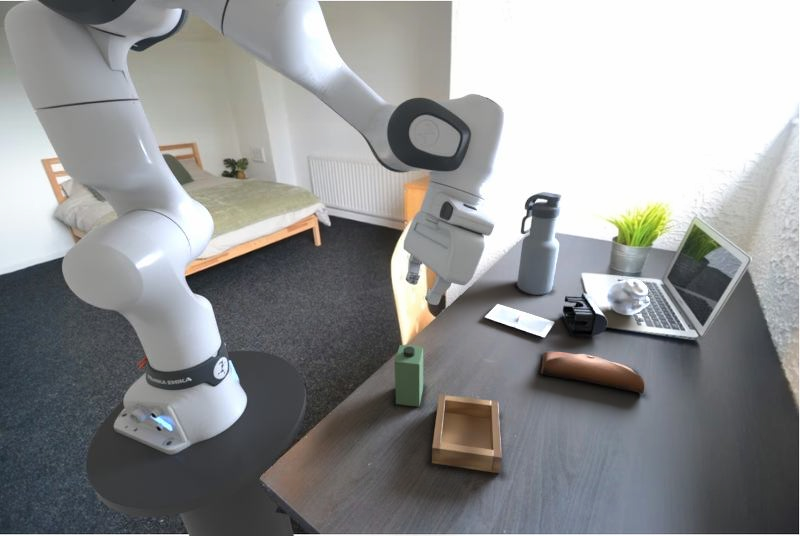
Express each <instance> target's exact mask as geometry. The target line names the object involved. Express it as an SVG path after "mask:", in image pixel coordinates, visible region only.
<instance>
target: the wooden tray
mask: <svg viewBox="0 0 800 536" xmlns="http://www.w3.org/2000/svg"><path fill="white" fill-rule="evenodd" d="M433 431H434V432H433V439H432V446H431V464H435V465H442V466H449V467H456V468H463V469H469V470H476V471H482V472H488V473H494V474H500V473H501V466H502V458H503V456H502V455H503V454H502V441H501V425H500V409H499V401H498V400H488V399H481V398H472V397H463V396H455V395H448V394H447V395H446V394H441V393H440V394H438V400H437V407H436V417H435V423H434V430H433Z"/></svg>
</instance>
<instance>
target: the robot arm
mask: <svg viewBox="0 0 800 536" xmlns="http://www.w3.org/2000/svg"><path fill="white" fill-rule="evenodd" d="M190 13H192V14H194V15H195V16H197V17H199V19H201V20H203V21H204V22H205V23H206V24H208V25H209V26H211V27H212V28H213V29H215V30H216V31H217V32H218V33H220V34H221V35H222V36H223V37H224V38H226V40H228V41H230V42H231V43H232V44H233V45H235V46H236V47H238V48H239V49H240V50H242V51H243V52H244V53H246V54H248V55H249V56H251V57H252V58H253V59H255V60H257V61H258V62H260V63H261V64H263V65H264V66H266V67H268V68H270V69H271V70H273V71H275V72H276V73H278V74H280V75H281V76H282V77H283V76H284V77H285V78H287V79H288V80H290V81H291V82H293V83H295V84H296V85H298V86H300V87H301V88H303V89H305V90H306V91H308V92H309V93H311V94H312V95H314V96H315V97H316V98H318V99H319V100H320V101H321V102H323V103H324V104H325V105H326V106H327V107H328V108H330V109H331V110H332V111H333V112H334V113H336V114H337V115H338V116H339V117H340V118H342V120H344V121H345V122H346V123H347V124H349V125H350V126H351V127H353V128H354V129H355V131H357V132H358V133H359V134H360V135H361V136H362V137H363V139H364V140H365V142H366V143H367V145H368V147H369V149H370V151H371V153H372V155H373V156H374V158H375V159H376V161H377V162H378V163H379V164H380V165H381V166H382V167H384V169H386V170H388V171H391V172H393V173H398V174H399V173H400V174H403V173H409V172H421V171H422V172H426V173H428V174H429V175H430V179H429V182H428V185H427V188H426V191H425V193H424V196H423V198H422V202H421V204H420V208H419V211H417V212H416V214H415V215H414V216H413V218H412V221H411V223H410V225H409V228H408V231H407V232H406V235H405V237H404V240H403V250H404V251H406V252H407V253H408V254H409V258H408V265H407V266H408V267H407V273H406V276H405V281H406V282H407V283H408V284H410V285H414V286H416V285H418V283H419V280H420V277H421V275H420V270H421V265H422V266H423V265H424V266H426V267H427V268H428V269H429V270H431V271H432V272H433V273H435V277H434V280H433V281H434V283H433V285H432V286H431V288H430V289H429V288H428V289H427V291H426V294H425V296H424V299H425V301H426V302H427V303H428V304H429V305H434V306H438V305H439V304H440V302H441V299H442V297H443V295H444V294H445V293H446V292H447V291H448V290H449V289H450V288H451V287H452V284H454V285H460V286H463V287H464V286H466V285H468V284H469V282H471V280H472V279H473V278H474V275H475V273H476V271H477V269H478V266H479V264H480V262H481V259H482V256H483V254H484V251H485V248H486V237H489V236H491V235H492V233H493V230H494V229H495V221H494V220H493V218H492V217H491V216H490V215H489V214H488V212H487V211H486V210H485V208H484V207H483V205H484V203H485V200H486V196H487V188H488V185H489V183H490V180H491V179H492V178H493V177H494V175H495V174H496V171H497V168H498V166H499V163H500V160H501V157H502V154H503V151H504V147H505V144H506V141H507V137H508V133H509V117H508V115H507V113H506V112H505V110H504V109H503V107H502V106H500V105H499V104H498V103H497V102H495V101H494V100H493V99H490V98H489V97H486V96H483V95H480V94H475V93H470V94H466V95H464V96H462V97H457V98H451V99H434V98H433V99H432V98H426V97H413V98H412V97H411V98H409V99H406V100H405V101H402V102H401V103H399V104H398V105H393V104H392V103H389V102H388V101H386V100H384V99H383V98H382V97H381V96H380V95H379V94H378V93H377V92H375V91H374V89H372V88H371V87H370V86H369V85H368V84H367V83H366V82H365V81H364V80H363V79H362V78H361V77H360V76H358V75H357V74H356V73H355V72H354V71H353V70H352V69H351V68H350V67H349V66H348V65H347V64H346V63H345V61H344V60H343V58H342V57H341V56H340V55H339V52H338V50H337V49H336V46H335V45H334V42H333V40H332V37H331V34H330V32H329V28H328V26H327V24H326V23H327V22H326V20H325V17H324V13H323V11H322V7H321V5H320V3H319V1H318V0H25V1H23V2H19V3H18V4H15V5H14V6H12V7H11V8H10V9H9V10H8V12H6V14H5V16H4V24H3V26H4V32H5V37H6V39H7V44H8V47H9V51H10V55H11V57H12V61H13V63H14V66H15V68H16V69H15V70H16V72H17V75H18V77H19V79H20V82H21V85H22V87H23V89H24V92H25V94H26V96H27V98H28V100H29V102H30V104H31V107H32V109H33V110H34V112H35V115H36V117H37V119H38V121H39V123H40V125H41V126H42V129H43V131H44V132H45V135H46V137H47V138H48V141H49V142H50V144H51V147H52V148H53V150H54V153H55V155H56V156H57V158H58V160H59V162H60V164H61V166H62V168H63V170H64V172H65V173H66V174H67V175H68V176H69V177H70V178H71V179H73V180H74V181H75V182H77V183H79V184H81V185H83V186H84V185H85V186H88V187H90V188H92V189H94V191H96V192H97V193H99V195H101V196H102V197H103V198H104V199H105V201H106V202H107V203H108V204H109V205H110V207H112V209H113V211H114V213H115V214H116V218H114V219H111V220H109V221H107V222H105V223H103V224H101V225H99V226H97V227H95V228H93V229H91V230H89V232H87V233H86V234H85V235H84V236H83V237H82V238H81V239H79V240H78V241H77V242H76V243H75V244H74V245H72V247H71V248H70V249H69V250H67V252H66V253H65V255H64V257H63V259H62V263H61V270H62V275H63V278H64V281H65V283H66V285H67V286H68V287H69V289H70V291H71V292H72V293H73V294H74V295H75V296H76V297H78V298H79V299H80V300H81V301H83V302H85V303H86V304H88V305H91V306H93V307H96V308H99V309H101V310H107V311H115V312H117V313H119V314H120V315H122V316H123V317H124V318H125V319H126V320H127V321H128V323H130V325H131V326H132V328H133V329H134V331H135V333H136V335H137V337H138V339H139V342H140V344H141V347H142V349H143V351H144V354H145V357H144V358H142V359H141V360H139V362H137V364H136V366H138V368H137V370H138V371H140V370H141V369H143V368H144V367H145V366H146V367H145V372H144V373H143V374H142V375H141V376H140V377H139V378H138V379H136V381H134V382H133V384H132V385H130V387H129V388H128V389H127V391H126V392H125V394H124V397H123V400H124V401H123V400H122V401H123V402H124V407H125V408H124V409H123V410H122V412H121V413H120V414H119V416H118V417H117V419H116V421H115V423H114V429H115V431H116V432H118V433H121V434H123V435H125V436H127V437H130V438H132V439H134V440H137V441H139V442H141V443H143V444H146V445H148V446H150V447H152V448H155V449H157V450H159V451H162V452H164V453H166V454H169V455H173V454H176V453H178V452H180V451H182V450H183V449H185V448H187V447H188V446H190V445H192V444H194V443H197V442H200V441H204V440H206V439H209V438H212V437H214V436H216V435H218V434H220V433H221V432H223V431H224V430H226V429H227V428H229V427H230V426H231V425H232V424H234V423H235V422H236V421H237V420H238V418H239V417H240V416H241V415H242V413H243V411H244V409H245V407H246V404H247V396H246V393H245V392H244V390H243V389H242V387H241V386H240V384H239V378H238V376H237V374H236V372H235V370H234V367H233V365H232V363H231V360H230V361H229V359H228V352H229V351H228V349H227V344H226V342H225V340H224V338H223V336H222V335H221V334H220V331H219V327H218V323H217V320H216V316H215V313H214V309H213V305H212V303H211V302H210V300H208V298H206V297H205V296H203V295H200V294H197V293H194V292H193V291H192V289H191V288H190V286H189V285H188V281H187V280H186V268H187V267H189V266H190V265H191V264H192V263H193V262H195V260H196V259H198V258H199V257H200V256H202V254H203V253H204V252H205V250H207V247H208V245H209V244H210V242H211V239H212V237H213V235H214V231H215V224H214V220H213V217H212V215H211V213H210V211H208V209H207V208H206V207H205V205H203V204H202V203H200V202H199V201H197V200H196V199H193V198H192V197H191V196H190V195H189V194H188V193H187V191H186V190H185V189H184V187H183V186H182V185H181V184H180V182H179V180H178V179H177V178H176V176H175V175H174V173H173V172H172V170H171V168H170V166H169V165H168V163H167V162H166V160H165V158H164V156H163V154H162V152H161V149H160V147H159V144H158V142H157V139H156V137H155V135H154V132H153V130H152V128H151V127H152V126H151V125H150V122H149V120H148V118H147V115H146V112H145V110H144V108H143V104H142V102H141V100H140V98H139V95H138V92H137V89H136V87H135V85H134V83H133V80H132V77H131V74H130V71H129V67H128V61H127V60H128V58H127V57H128V53H129V51H130V50H131V51H134V52H137V53H141V52H144V51H146V50H147V49H149V48H151V47H153V46H155V45H157V44H158V43H160V42H163V41H165V40H168V39H170V38H172V37H173V36H175V35H177V33H179V32H181V30H183V28H184V27H185V25H186V23H187V21H188V19H189V14H190ZM485 236H486V237H485ZM169 444H170V445H169Z"/></svg>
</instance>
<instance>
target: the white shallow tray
mask: <svg viewBox="0 0 800 536" xmlns="http://www.w3.org/2000/svg"><path fill="white" fill-rule="evenodd" d="M484 318H486V319H489V320H492V321H494V322H497V323H501V324H504V325H506V326H509V327H513V328H515V329H518V330H521V331H525V332H526V333H530V334H533V335H536V336H538V337H539V336H540V337H541V338H545V337H546V336H547V334H548V333H549V332H550V331H551V329H552V328H553V326H554V324H555V323H556V322H555V321H553V320H551V319H546V318H543V317H540V316H537V315H534V314H531V313H527V312H525V311H521V310H518V309H514V308H511V307H509V306H508V307H507V306H505V305H502V304H499V303H497V304H495V306H494V307H493V308H492V309H491V310H490V311H489V312H488V313H487V314H486V315H485V316H484Z"/></svg>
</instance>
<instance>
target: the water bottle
mask: <svg viewBox="0 0 800 536" xmlns="http://www.w3.org/2000/svg"><path fill="white" fill-rule="evenodd" d="M537 200H544V201H537ZM561 200H562V195H561V194H558V193H553V192H548V191H547V192H546V191H543V192H538V193H536V194H533V195H530V196H529V197H528V198H527V199H526V201H525V203H524V210H525V211H526V213H525V214H526V215H525V216H523V217H522V219H521V226H520V234H521V235H526V234H528V233H529V234H528V235H527V236H525V237H524V238H523V240H522V242H521V251H520V258H519V266H518V272H517V273H518V274H517V281H516V284H517V287H518V289H520V290H521V291H522V292H524V293H526V294H530V295H533V296H534V295H535V296H541V295H542V296H543V295H547V294H549V293H550V292H551V291H552V289H553V285H554V279H555V274H556V268H557V262H558V257H559V250H560V242H559V241H558V238H557V239H556V238H555V235H556V230H557V224H558V219H559V218H560V212H561V206H560V205H559V204H560V201H561ZM530 218H531V221H530V227H529V229H526V230H525V225H526V221H527V219H530Z"/></svg>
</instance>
